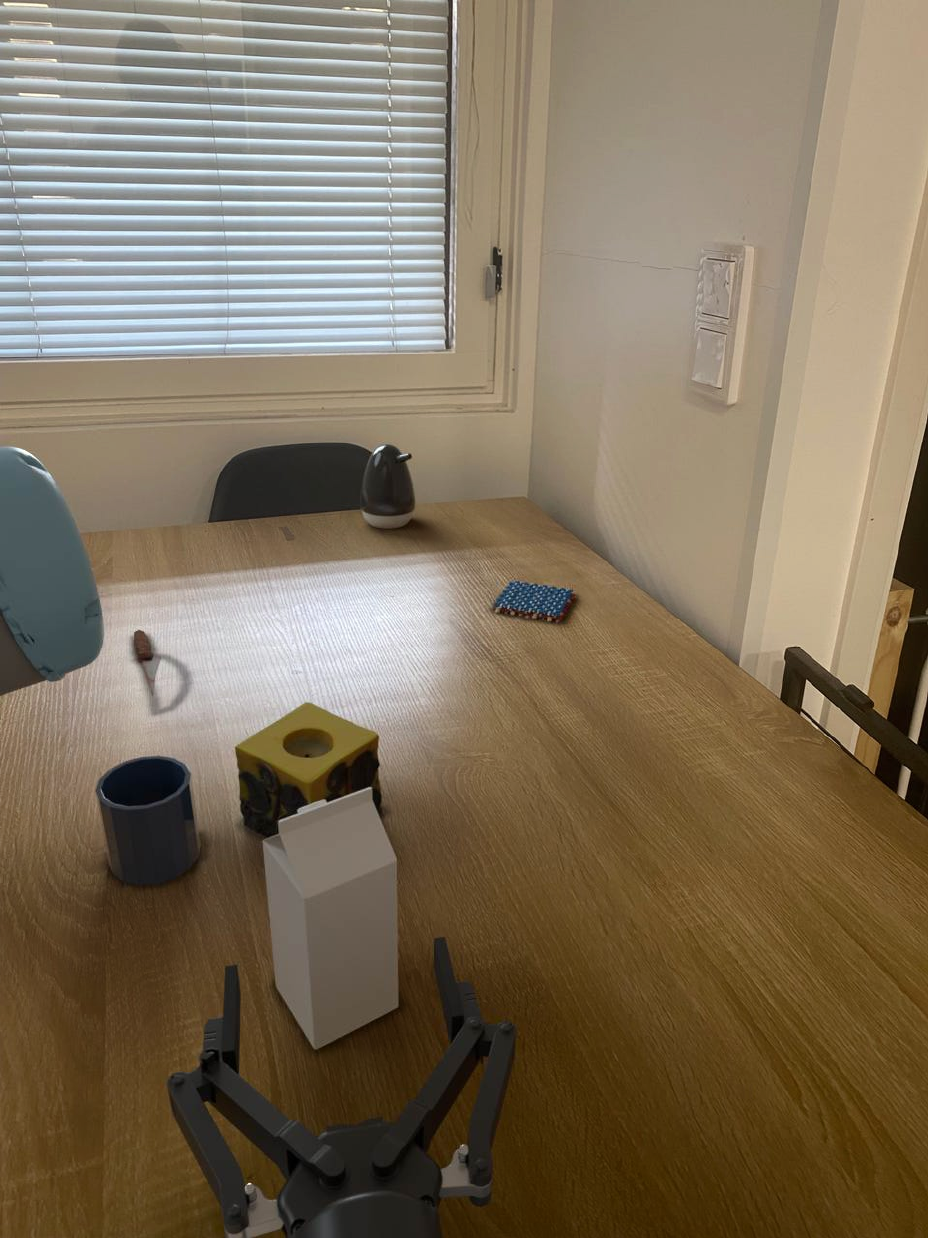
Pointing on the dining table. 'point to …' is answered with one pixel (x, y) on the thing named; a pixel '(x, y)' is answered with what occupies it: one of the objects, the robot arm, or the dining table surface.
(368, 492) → the pump dispenser
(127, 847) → the blue cup
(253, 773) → the candle
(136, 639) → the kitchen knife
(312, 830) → the milk carton
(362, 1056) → the dining table surface
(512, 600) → the woven mat
